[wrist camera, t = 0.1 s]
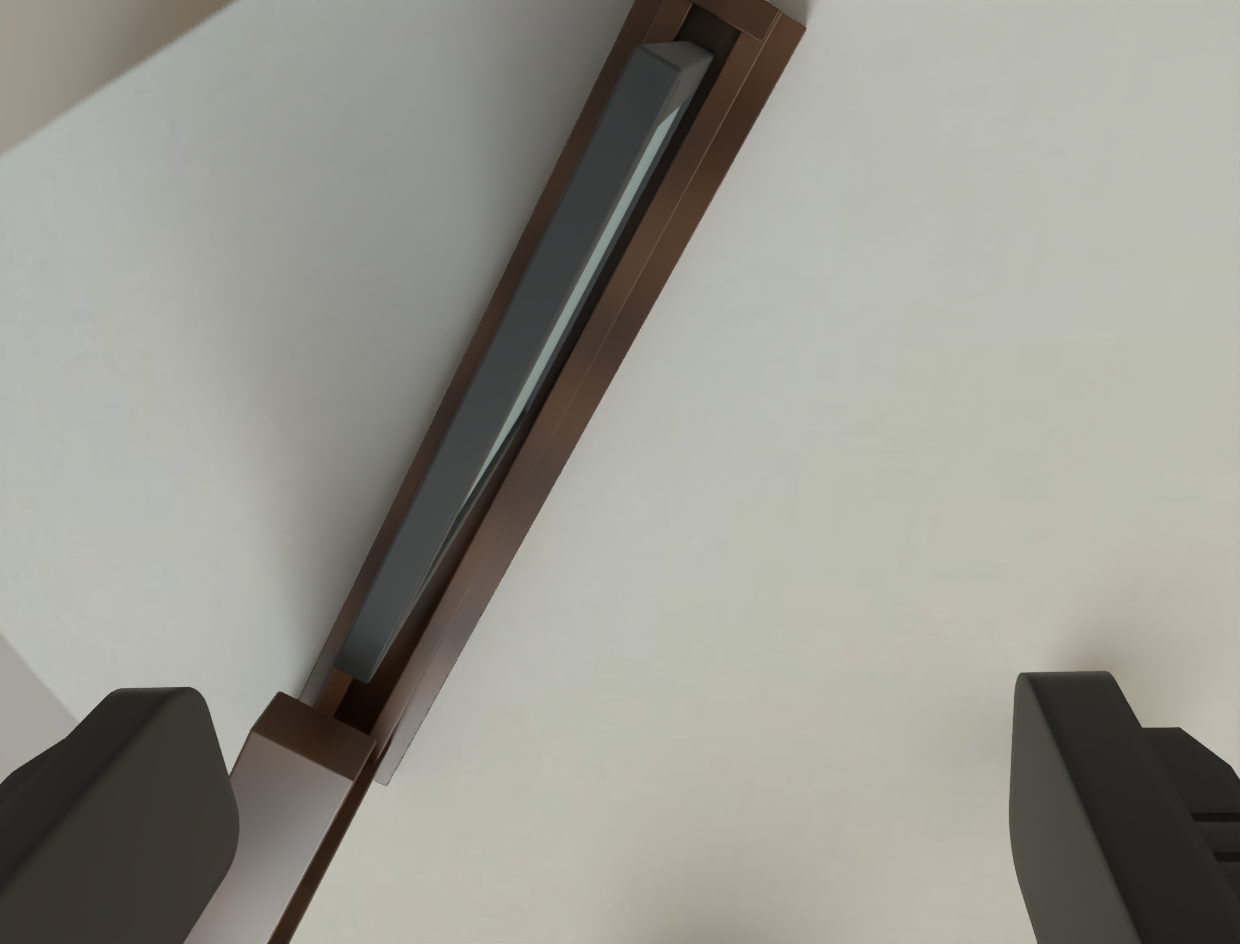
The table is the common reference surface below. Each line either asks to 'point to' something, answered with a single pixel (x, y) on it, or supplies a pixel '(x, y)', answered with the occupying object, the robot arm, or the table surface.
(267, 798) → the window frame
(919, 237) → the table surface
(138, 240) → the table surface
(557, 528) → the table surface
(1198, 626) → the table surface
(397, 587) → the window pane
